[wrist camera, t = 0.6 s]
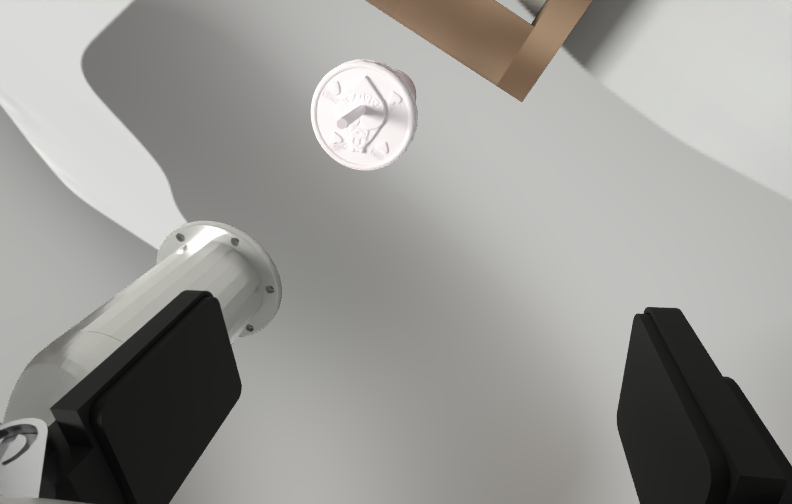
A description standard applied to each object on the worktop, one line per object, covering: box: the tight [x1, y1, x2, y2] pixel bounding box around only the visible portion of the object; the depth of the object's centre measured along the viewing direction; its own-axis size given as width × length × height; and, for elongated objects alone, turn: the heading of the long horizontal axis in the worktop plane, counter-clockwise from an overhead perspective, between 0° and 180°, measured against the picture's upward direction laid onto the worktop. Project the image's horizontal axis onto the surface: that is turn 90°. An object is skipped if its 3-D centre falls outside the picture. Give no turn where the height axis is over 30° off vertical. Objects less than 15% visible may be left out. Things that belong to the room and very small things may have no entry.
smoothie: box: [311, 59, 417, 170], centre depth 30 cm, size 6×6×14 cm
